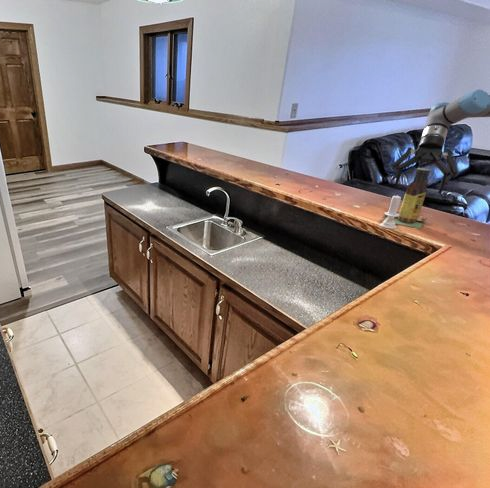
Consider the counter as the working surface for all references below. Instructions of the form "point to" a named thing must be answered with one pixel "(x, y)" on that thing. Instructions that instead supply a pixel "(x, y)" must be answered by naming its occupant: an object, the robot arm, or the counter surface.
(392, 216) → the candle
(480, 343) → the counter surface
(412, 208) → the sauce bottle
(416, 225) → the mat
